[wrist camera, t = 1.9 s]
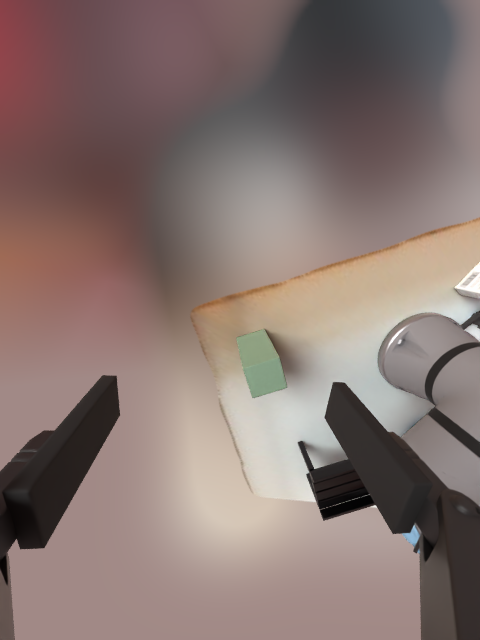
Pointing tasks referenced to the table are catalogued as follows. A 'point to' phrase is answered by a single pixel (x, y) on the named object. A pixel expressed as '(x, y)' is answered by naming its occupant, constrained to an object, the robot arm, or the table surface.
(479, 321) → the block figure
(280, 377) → the block
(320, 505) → the rack
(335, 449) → the table surface
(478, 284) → the ink box
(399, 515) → the robot arm
